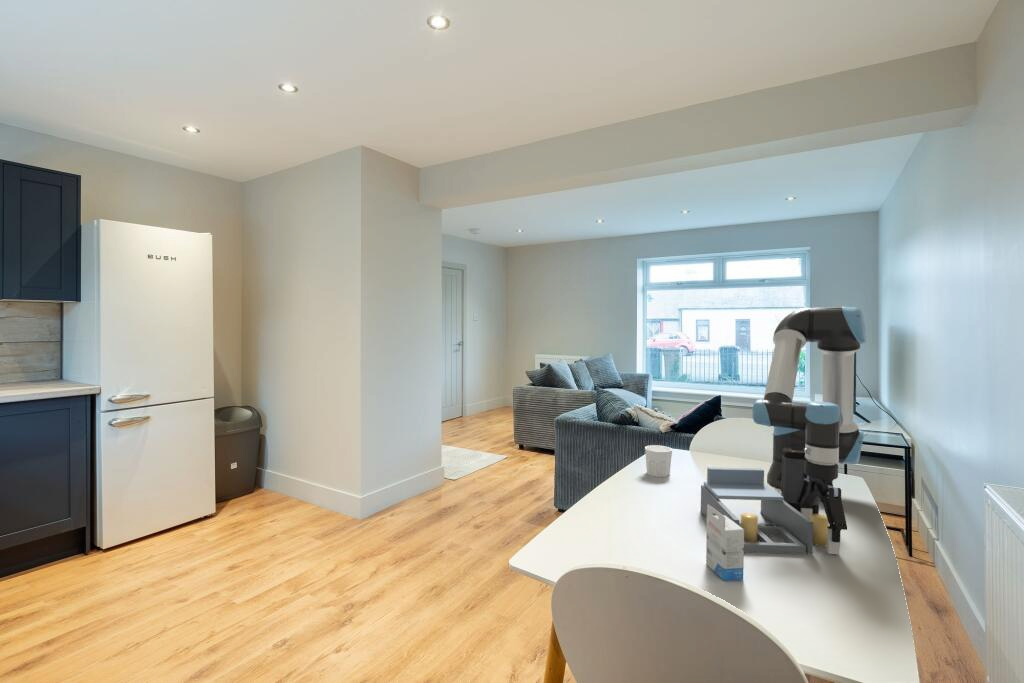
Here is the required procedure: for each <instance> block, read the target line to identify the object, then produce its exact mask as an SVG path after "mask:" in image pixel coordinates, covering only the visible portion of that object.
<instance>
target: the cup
mask: <svg viewBox="0 0 1024 683" xmlns="http://www.w3.org/2000/svg"><path fill="white" fill-rule="evenodd" d="M644 452H645V463H646V464H645V465H646V466H645V467H646V473H647V474H648V475H649V476H653V477H655V478H659V477H660V478H666V477H668V476H670V475H671V466H672V465H671V463H672V456H673V455H672V454H673V448H671V447H669V446H665V445H660V444H658V445H657V444H656V445H655V444H652V445H651V444H650V445H646V446H645V447H644Z"/></svg>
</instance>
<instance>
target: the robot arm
mask: <svg viewBox="0 0 1024 683" xmlns="http://www.w3.org/2000/svg"><path fill="white" fill-rule="evenodd" d="M866 339H867V336H866V326H865V321H864V314H863V312H862V310H861V309H860V308H859V307H856V306H851V307H850V306H844V305H843V306H824V307H823V306H819V307H818V306H817V307H803V308H799V309H796V310H793V311H792V312H791V313H789V314H788V315H786V316H785V317H783V319H782V320H781V321H780V322H779V324H778V325H777V326H776V328H775V330H774V332H773V337H772V342H773V344H774V349H773V353H772V358H771V363H770V365H769V366H770V367H769V371H768V377H767V382H766V385H765V391H764V395H763V399H762V398H761V399H755V401H754V402H753V403H752V404H753V405H752V419H753V422H754V423H755V424H757V425H761V426H765V427H769V428H770V427H773V430H772V431H773V432H772V436H773V438H772V463H771V465H770V467H769V469H768V472H767V474H766V482H767V483H768V484H770V485H771V486H773V487H776V488H778V489H782V453H783V449H784V448H791V449H792V450H799V451H805V458H806V460H805V465H804V472H805V473H802V481H801V485H800V488H799V491H798V495H797V498H796V501H797V502H798V503H800V504H799V505H800V507H801V514H803V515H804V516H805V517H807V518H808V519H810V520H811V514H812V511H813V509H811V508H809V507H812V504H813V502H814V500H815V499H816V497H817V496H818V497H819V502H820V503H822V507H823V510H824V512H825V516H827V519H828V522H829V526H828V527H827V546H826V553H827V554H829V555H830V554H831V555H840V552H841V534H842V533H841V532H842V531H845V530H848V525H847V520H846V514H845V509H844V505H843V500H842V489H841V487H835V486H834V484H833V483H834V482H833V481H834V480H836V479H838V478H839V465H838V464H841V465H852V466H853V465H856V464H858V463H859V461H860V457H861V452H862V446H863V441H864V435H865V434H864V431H862V430H860V429H859V428H860V427H859V426H860V425H859V424H857V423H856V422H855V421H854V390H855V389H854V387H855V386H854V385H855V384H854V383H855V380H854V379H855V353H856V352H858V351H859V350H860V349H861V345H863V344H865V343H866V342H867V341H866ZM807 343H816V344H817V349H818V351H820V352H822V401H809V402H808V403H800V402H793V400H794V393H795V387H796V383H797V382H796V381H797V375H798V369H799V364H800V359H801V358H800V357H801V351H802V349H803V348H804V347H805V346H806V344H807ZM801 497H803V498H801Z"/></svg>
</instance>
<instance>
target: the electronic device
mask: <svg viewBox="0 0 1024 683" xmlns="http://www.w3.org/2000/svg"><path fill="white" fill-rule="evenodd" d="M805 460H806V458H805V451H799V450H792V449H791V448H784V449H783V453H782V488H781V494H780V495H781V496H783V497H784V501H785V502H787V503H788V504H789V505H791V506H792V507H793V508H795V509H796V510H797V511H799V512H800V513H801V507H800V505H799V504H800V503H798V502H797V501H796V498H797V495H798V491H799V488H800V485H801V481H802V473H805V472H804V465H805ZM801 498H803V497H801ZM809 508H811V509H813V511H812V514H820V512H819V511H820V500H819V497H818V496H817V497H816V499H815V500H814V502H813V504H812V507H809Z"/></svg>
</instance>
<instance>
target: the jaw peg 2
mask: <svg viewBox="0 0 1024 683" xmlns="http://www.w3.org/2000/svg"><path fill="white" fill-rule="evenodd" d="M811 521H812V522H813V545H816V546H819V547H827V527H828V526H830V525H829V522H828V519H827V516H826V514H821V513H819V514H811Z"/></svg>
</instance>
